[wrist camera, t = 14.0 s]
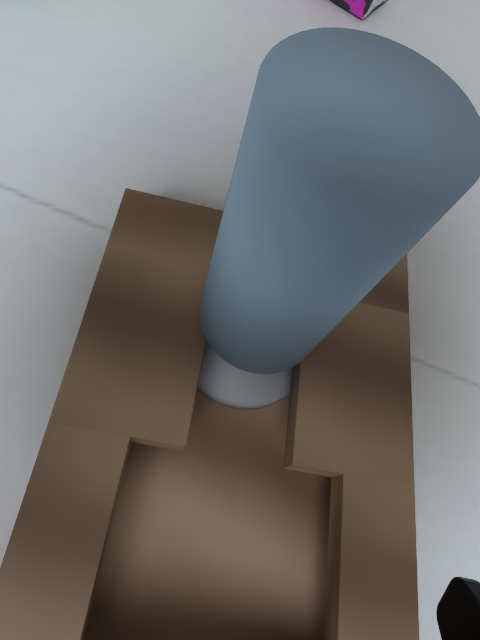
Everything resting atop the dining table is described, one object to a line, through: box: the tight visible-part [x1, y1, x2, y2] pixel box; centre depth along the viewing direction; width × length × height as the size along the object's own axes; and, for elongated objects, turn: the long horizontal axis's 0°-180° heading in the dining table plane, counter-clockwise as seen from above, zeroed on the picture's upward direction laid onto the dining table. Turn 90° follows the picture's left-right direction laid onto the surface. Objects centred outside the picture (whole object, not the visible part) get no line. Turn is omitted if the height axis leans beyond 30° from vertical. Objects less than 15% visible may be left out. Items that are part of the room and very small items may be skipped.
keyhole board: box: [0, 188, 419, 640], centre depth 17 cm, size 20×13×4 cm, turn 172°
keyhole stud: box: [197, 28, 480, 410], centre depth 14 cm, size 6×6×13 cm
